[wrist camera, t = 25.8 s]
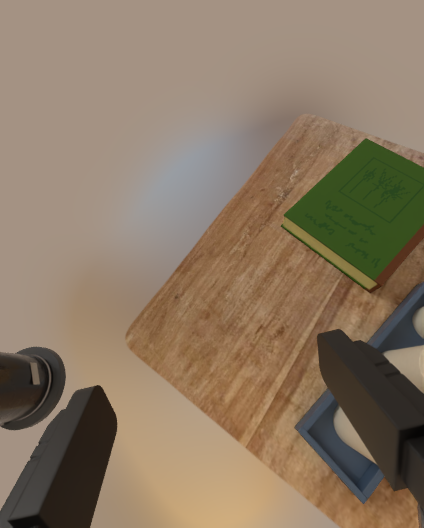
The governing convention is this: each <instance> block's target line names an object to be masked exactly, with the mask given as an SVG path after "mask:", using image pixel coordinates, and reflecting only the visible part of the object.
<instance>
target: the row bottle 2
mask: <svg viewBox="0 0 424 528" xmlns="http://www.w3.org/2000/svg"><path fill="white" fill-rule="evenodd" d="M412 322H413V326H414V328H415V330H416V332H417V333H418V334H419V335H420V336H421V337H422V338H423V339H424V307H421V308H419V309H417V310H416V311H415V313H414V314H413V318H412Z"/></svg>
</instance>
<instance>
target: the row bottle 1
mask: <svg viewBox="0 0 424 528" xmlns="http://www.w3.org/2000/svg"><path fill="white" fill-rule="evenodd" d="M382 354H383V355H384V356H385V357H386V358H387V359H388V360H389V362H390V363H392V364H393V365H394V366H395V367H396V368H397V369H398V370H399V371H400V373H401V374H404V375H405V376H406V377H407V378H408V379H409V380H410V381H411V382H412V383H413V384H414V385H415V386H416V387H417V388H418V389H419V390H420V391H421V392H422V393H423V394H424V345H422V346H415V347H409V348H403V349H396V350H390V351H385V352H383V353H382Z"/></svg>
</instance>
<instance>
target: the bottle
mask: <svg viewBox="0 0 424 528" xmlns="http://www.w3.org/2000/svg"><path fill="white" fill-rule="evenodd" d="M333 424H334V428H335V431H336V433H337V434H338V436H339V437H340V439H341V440H342V441H343V442H344V443H346V444H347V445H348V446H350V447H351V448H353V449H354V450H356V451H357V452H359V453H360V454H362V455H363V456H365V457H366V458H368V459H369V460H371V461H372V462H374V463H375V464H376V462H375V460H374V459H373V457H372V456H371V454H370V453H369V451H368V449H367V448H366V446H365V445H364V443H363V442H362V440H361V439H360V437H359V435H358V434H357V432H356V431H355V429H354V428H353V426H352V424H351V423H350V421H349V420H348V418H347V417H346V415H345V413H344V412H343V410H342V409H341V407H340V406H339V405H338V406H337V407H336V409H335V411H334V414H333Z"/></svg>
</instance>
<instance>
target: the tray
mask: <svg viewBox="0 0 424 528" xmlns="http://www.w3.org/2000/svg"><path fill="white" fill-rule="evenodd" d="M421 307H424V282H422V283H420V284H418V285H416V286H415V287H414V288H413V290H412V291H411V292H410V293H409V294H408V295H407V297H406V298H405V299H404V300H403V301H402V302H401V304H400V305H399V306H398V307H397V308H396V309H395V311H394V312H393V313H392V314H391V315H390V316H389V318H388V319H387V320H386V321H385V322H384V323H383V325H382V326H381V327H380V328H379V329H378V330H377V332H376V333H375V334H374V335H373V336H372V337H371V339H370V340H369V341H368V342H367V344H369V345H370V346H372V347H374V348H376V349H377V350H378V351H379V352H380V353H383V352H385V351H390V350H396V349H403V348H409V347H415V346H422V345H424V339H423V338H422V337H421V336H420V335H419V334H418V333H417V332H416V330H415V328H414V326H413V322H412V318H413V314H414V313H415V311H416V310H417V309H419V308H421ZM338 405H339V404H338V402H337V401H336V399H335V398H334V396H333V395H332V393H331V391H330V390H329V388H328V389H327V390H326V391H325V392H324V393H323V395H322V396H321V397H320V398H319V399H318V400H317V402H316V403H315V404H314V405H313V406H312V407H311V409H310V410H309V411H308V412H307V413H306V414H305V416H304V417H303V418H302V419H301V420H300V421H299V423H298V424H297V425H296V426H295V429H296V430H297V431H298V432H299V433H300V434H301V436H302V437H303V438H304V439H305V440H306V441H307V442H308V443H309V444H310V446H311V447H312V448H313V449H314V450H315V451H316V452H317V453H318V455H319V456H320V457H321V458H322V459H323V460H324V461H325V462H326V463H327V465H328V466H329V467H330V468H331V469H332V470H333V471H334V472H335V473H336V475H337V476H338V477H339V478H340V479H341V480H342V481H343V482H344V484H345V485H346V486H347V487H348V488H349V489H350V490H351V491H352V492H353V494H354V495H355V496H356V497H357V498H358V499H359V500H360V501H361V502H362V503H363V504H364V503H365V502H366V501H367V498H369V497H370V496H371V494H372V493H373V491H374V490H375V489H376V487H377V486H378V485H379V483H380V482H381V480H382V479H383V478H384V475H383V473H382V471H381V470H380V468H379V467H378V465H377V464H375V463H374V462H372V461H371V460H369V459H368V458H366V457H365V456H363V455H362V454H360V453H359V452H357V451H356V450H354V449H353V448H351V447H350V446H348V445H347V444H346V443H344V442H343V441H342V440H341V439H340V437H339V436H338V434H337V433H336V431H335V428H334V424H333V414H334V411H335V409H336V407H337V406H338Z"/></svg>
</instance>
